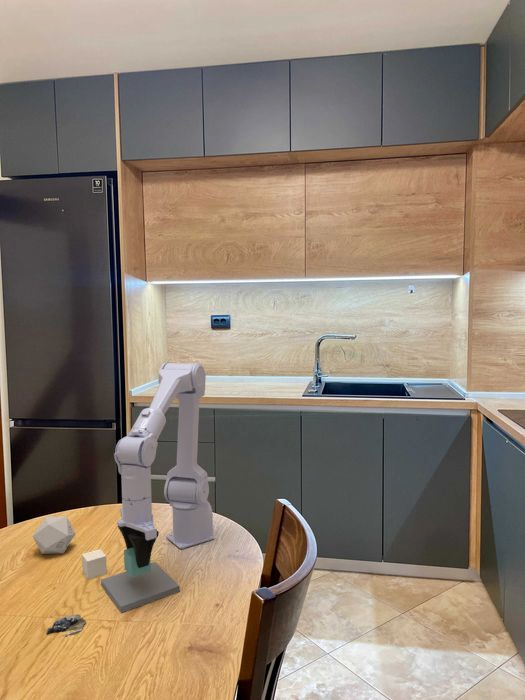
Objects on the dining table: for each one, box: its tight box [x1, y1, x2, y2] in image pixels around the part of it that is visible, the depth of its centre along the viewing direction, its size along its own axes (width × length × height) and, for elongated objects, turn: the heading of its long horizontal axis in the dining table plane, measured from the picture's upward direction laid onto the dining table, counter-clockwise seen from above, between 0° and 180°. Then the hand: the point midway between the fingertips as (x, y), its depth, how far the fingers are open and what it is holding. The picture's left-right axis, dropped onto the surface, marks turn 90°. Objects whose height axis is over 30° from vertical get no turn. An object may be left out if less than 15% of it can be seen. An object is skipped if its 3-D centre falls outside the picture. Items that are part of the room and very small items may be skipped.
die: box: [32, 516, 76, 555], centre depth 117 cm, size 8×9×10 cm
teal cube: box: [123, 548, 152, 577], centre depth 100 cm, size 4×4×4 cm
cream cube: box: [81, 548, 108, 580], centre depth 107 cm, size 4×4×4 cm
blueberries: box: [45, 614, 87, 638], centre depth 88 cm, size 7×8×2 cm
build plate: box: [100, 561, 181, 614], centre depth 100 cm, size 12×12×1 cm
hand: (138, 561), depth 100 cm, fingers closed on teal cube, 4 cm apart
